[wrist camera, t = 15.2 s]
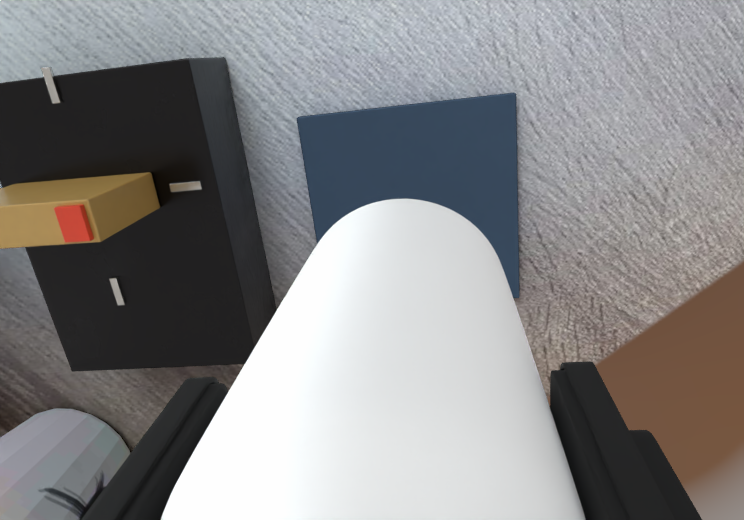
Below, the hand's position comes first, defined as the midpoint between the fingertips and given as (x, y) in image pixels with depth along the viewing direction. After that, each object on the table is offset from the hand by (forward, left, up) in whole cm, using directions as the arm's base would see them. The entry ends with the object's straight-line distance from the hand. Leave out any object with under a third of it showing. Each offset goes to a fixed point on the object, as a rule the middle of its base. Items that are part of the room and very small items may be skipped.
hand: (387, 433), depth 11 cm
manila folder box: (-3, -14, -12) cm, 19 cm away
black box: (-1, -13, -16) cm, 21 cm away
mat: (0, 0, -16) cm, 16 cm away
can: (0, 0, -7) cm, 7 cm away
